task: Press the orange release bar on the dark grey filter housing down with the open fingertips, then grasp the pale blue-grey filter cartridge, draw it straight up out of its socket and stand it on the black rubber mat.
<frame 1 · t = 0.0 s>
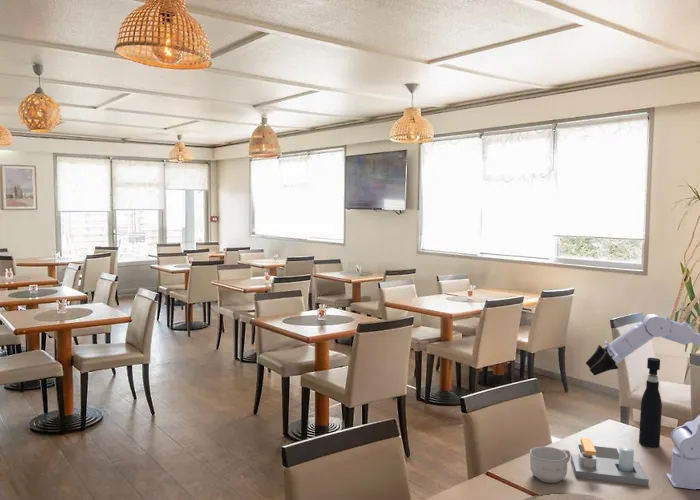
hand: (589, 369, 175), 32 cm above the table, tool tilted 50°, fingers open, 7 cm apart
cartridge: (625, 474, 176), resting in housing
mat: (600, 454, 190), on the table
teacup: (552, 478, 173), on the table
housing: (607, 472, 177), on the table
plunger: (587, 450, 178), point 6 cm above the table, slide at 0.0 cm
black bottle: (649, 444, 199), on the table
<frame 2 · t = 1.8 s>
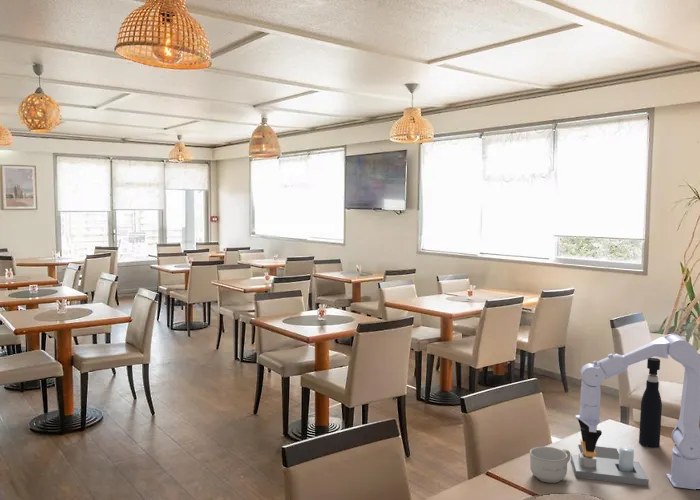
hand: (587, 446, 178), 8 cm above the table, tool pointing down
plunger: (587, 451, 178), point 6 cm above the table, slide at 0.5 cm, touching gripper
everything else where it was.
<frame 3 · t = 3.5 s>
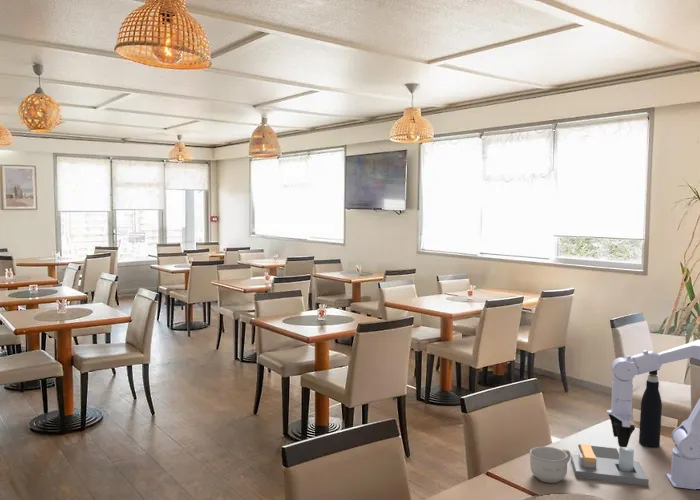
hand: (620, 441, 175), 10 cm above the table, tool pointing down, fingers open, 7 cm apart
plunger: (587, 456, 178), point 4 cm above the table, slide at 2.1 cm
everything else where it was.
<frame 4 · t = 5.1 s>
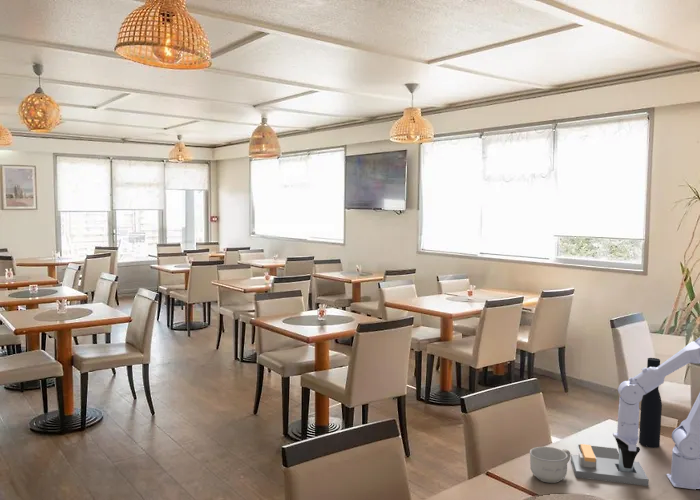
hand: (625, 464, 176), 3 cm above the table, tool pointing down, fingers closed on cartridge, 4 cm apart
cartridge: (625, 474, 176), resting in housing, touching gripper
everything else where it was.
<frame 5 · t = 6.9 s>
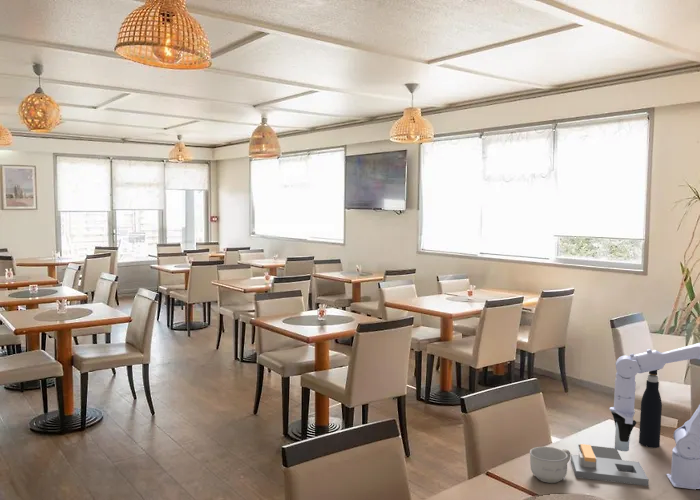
hand: (622, 438, 177), 10 cm above the table, tool pointing down, fingers closed on cartridge, 4 cm apart
cartridge: (621, 448, 178), point 7 cm above the table, touching gripper
everything else where it was.
when the fingers open (5 cm above the table, at t = 9.0 s): cartridge drops 1 cm, resting on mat.
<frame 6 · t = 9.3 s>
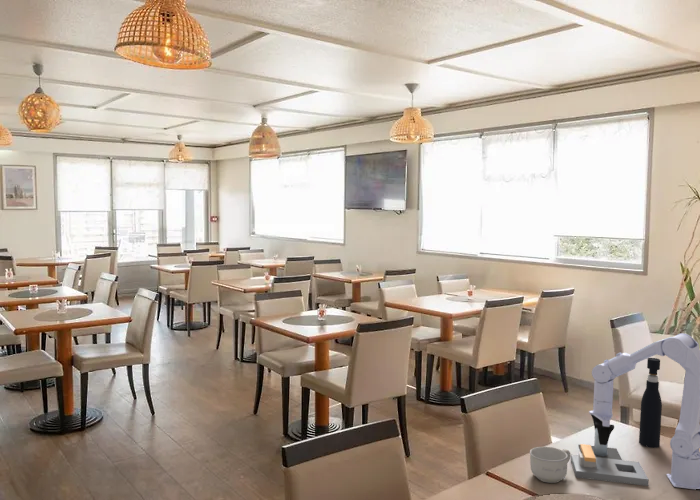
hand: (601, 439, 189), 5 cm above the table, tool pointing down, fingers open, 7 cm apart
cartridge: (600, 453, 190), resting on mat
everything else where it was.
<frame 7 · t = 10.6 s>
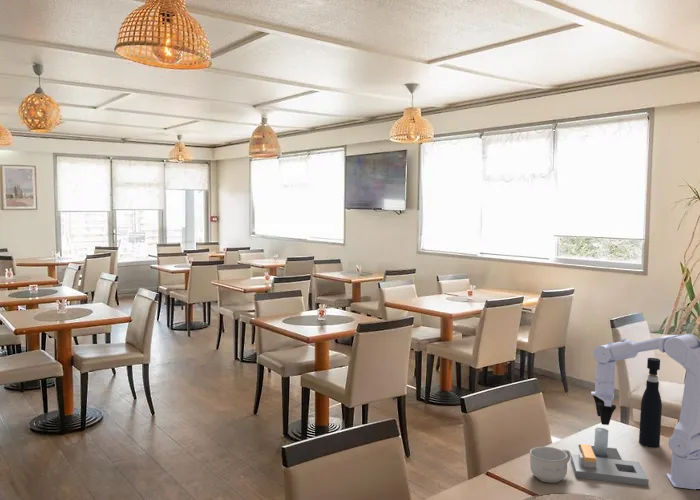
hand: (602, 420, 192), 10 cm above the table, tool pointing down, fingers open, 7 cm apart
nothing on the table moved.
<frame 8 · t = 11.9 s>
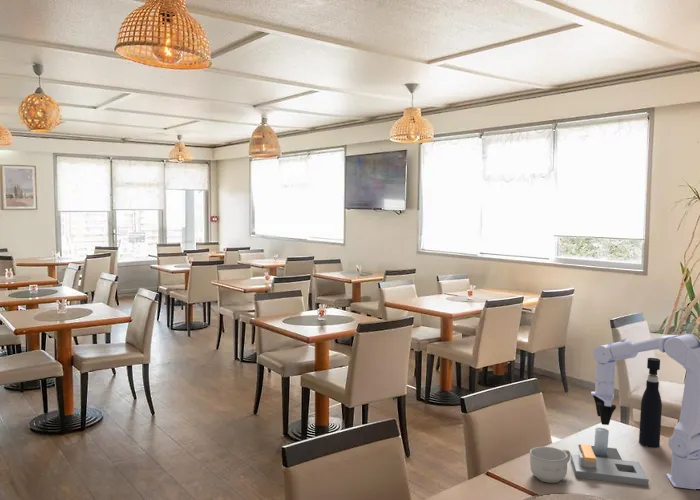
hand: (602, 420, 192), 10 cm above the table, tool pointing down, fingers open, 7 cm apart
nothing on the table moved.
at the end: plunger slide at 2.1 cm; cartridge inside the target area on the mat (0.1 cm from its centre), point 0.4 cm above the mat's base; cartridge tilted 1° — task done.
